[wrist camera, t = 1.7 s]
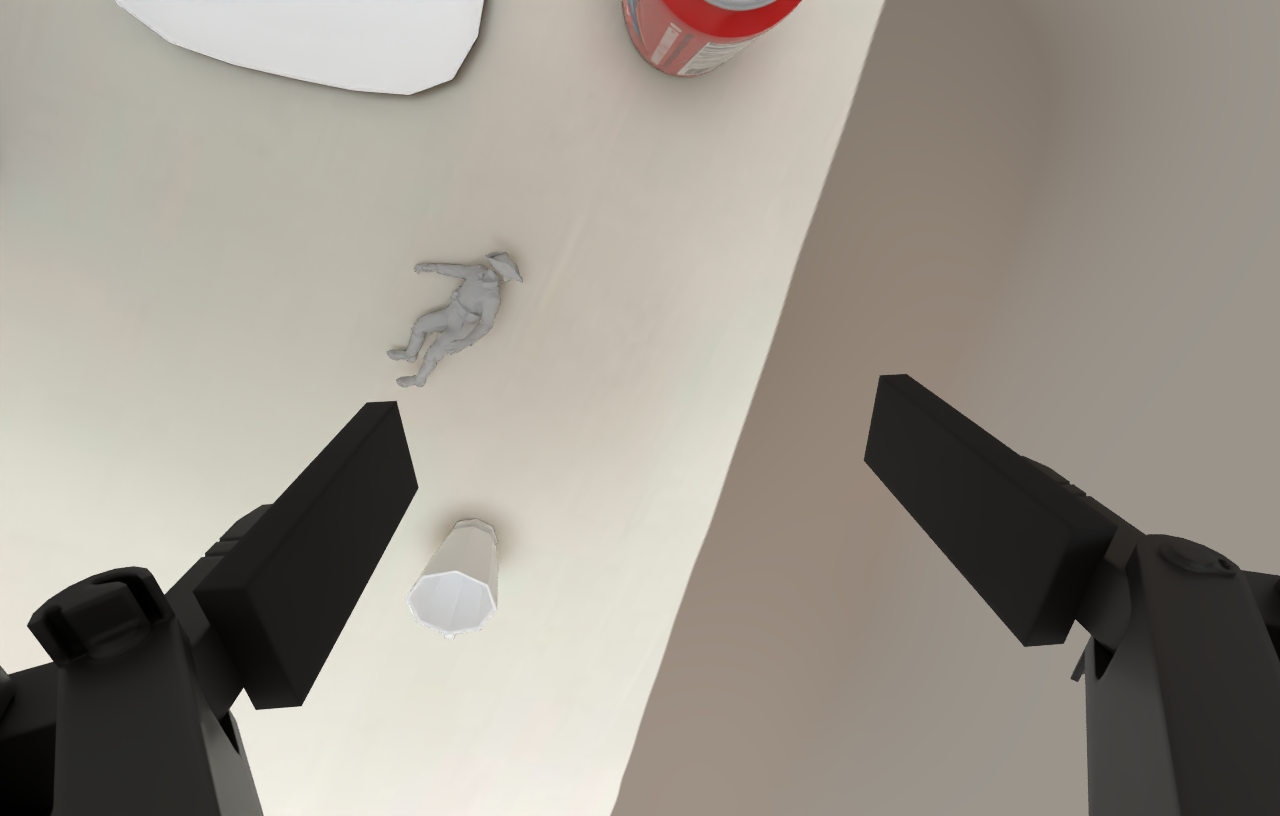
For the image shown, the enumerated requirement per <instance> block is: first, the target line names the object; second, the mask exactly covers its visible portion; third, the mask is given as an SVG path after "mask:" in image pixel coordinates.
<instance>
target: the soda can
mask: <svg viewBox="0 0 1280 816" xmlns="http://www.w3.org/2000/svg"><path fill="white" fill-rule="evenodd" d="M801 1H802V0H622V4H623V13H624V18H625V22H626V26H627V29H628V32H629V34H630V36H631V39H632V41H633V43H634V44H635V46H636V48H637V49H638V51H639V52H640V53H641V54H642V56H643V57H644V58H645V59H646V60H647V61H648V62H649V63H650V64H652V65H653V66H654V67H656V68H657V69H659V70H661V71H663V72H665V73H668V74H671V75H674V76H681V77H692V76H698V75H702V74H705V73H707V72H710V71H712V70H713V69H715V68H717V67H718V66H720V65H721V64H723V63H724V62H726V61H727V60H728V59H730V58H731V57H733V56H734V55H735V54H737V53H738V52H740V51H741V50H742V49H744V48H745V47H747V46H748V45H749V44H751V43H752V42H753V41H755V40H756V39H758V38H759V37H760V36H762V35H763V34H765V33H766V32H767V31H769V30H770V29H772V28H773V27H774V26H776V25H777V24H778V23H780V22H781V21H782V20H783V19H784V18H786V17H787V16H788V15H789V14H790V13H791V12H792V11H793V10H794V9H795V8H796V7H797V6H798V4H799V3H800V2H801Z"/></svg>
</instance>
